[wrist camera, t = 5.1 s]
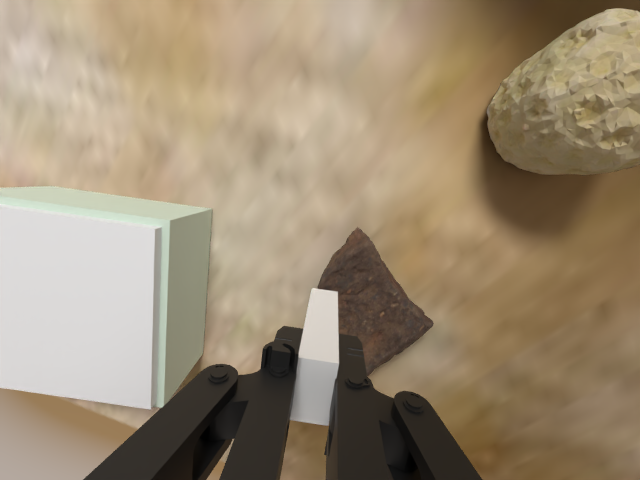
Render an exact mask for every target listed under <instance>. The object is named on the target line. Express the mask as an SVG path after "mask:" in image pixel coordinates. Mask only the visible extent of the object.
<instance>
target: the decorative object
mask: <svg viewBox="0 0 640 480" xmlns="http://www.w3.org/2000/svg"><path fill="white" fill-rule="evenodd" d="M487 115H488V117H489V119H488V123H487V124H488V130H489V133H490V138H491V139H492V141H493V143H494V144H495V148H496V149H497V151H496V152H497V153H499V154H500V155H501V157H502V158H503V159H504V160H505V161H506V162H509V163H512V164H513V165H514V166H516V167H518V168H520V169H523V170H527V171H530V172H534V173H539V174H546V175H562V174H579V175H591V174H602V173H609V172H613V171H618V170H621V169H625V168H631V167H634V166H637V165H640V12H639V11H634V10H629V9H622V8H615V9H608V10H605V11H604V12H602V13H599V14H596V15H594V16H592V17H590V18H588V19H586V20H584V21H582V22H580V23H578V24H577V25H576V26H575V27H573V28H570V29H568V30H567V31H565V32H564V33H563V34H562V35H560V36H559V37H558V38H557V39H555V40H554V41H552V42H551V43H550V44H548V45H547V46H546V47H545V48H544V49H542V50H540V51H538V52H537V53H536V54H534V55H533V56H532V57H531V58H529V59H526V60H524V61H523V62H522V63H521V64H520V65H519V66H518V67H516V68H515V69H514V71H513V72H512V73H511V74H510V75H509V76H508V77H507V78H506V79H504V80H503V81H502V83H501V85H500V87H499V89H498V91H497V93H496V94H495V96H494V97H493V99H492V102H491V103H490V104H489V106H488V108H487Z"/></svg>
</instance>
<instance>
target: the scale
mask: <svg viewBox="0 0 640 480" xmlns="http://www.w3.org/2000/svg"><path fill="white" fill-rule="evenodd" d="M211 222H212V209H210V208H203V207H196V206H189V205H182V204H175V203H168V202H161V201H154V200H147V199H140V198H133V197H126V196H119V195H112V194H105V193H98V192H90V191H83V190H76V189H69V188H62V187H55V186H40V187H11V188H0V388H6V389H13V390H20V391H27V392H34V393H41V394H47V395H54V396H61V397H68V398H75V399H82V400H88V401H95V402H102V403H109V404H116V405H123V406H130V407H136V408H143V409H150V410H151V409H152V407H159V408H162V407H163V406H164V405H165V404H166V403H168V401H169V400H170V399H171V397H172V396H173V395H174V393H175V392H176V390H177V389H178V388H179V386H180V385H181V383H182V382H183V381H184V379H185V378H186V376H187V375H188V374H189V372H190V371H191V370H192V368H193V367H194V365H195V364H196V363H197V361H198V360H199V358H200V357H201V356H202V354H203V348H204V333H205V317H206V301H207V285H208V269H209V254H210V238H211Z"/></svg>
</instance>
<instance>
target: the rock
mask: <svg viewBox="0 0 640 480" xmlns="http://www.w3.org/2000/svg"><path fill="white" fill-rule="evenodd" d="M318 289H322V290H329V291H336V292H338V333H339V334H345V335H352V336H357V337H358V338H359V340H360V341H361V342H362V346H363V353H364V359H365V366H366V372H367V376H368V375H369V374H371V373H372V371H373V370H374V369H375V368H377V367H378V366H380V365H381V364H383V363H385V362H387V361H389V360H390V359H391V358H392V357H393V356H394V355H396V354H399V353H400V352H402V351H403V350H404V349H405V348H407V347H409V346H410V345H411V344H413V343H414V342H415V341H416V340H418V339H419V338H420V337H421V336H422V335H423V334H425V333H426V332H427V331H428V330H429V329H430V328H431V327H432V326H433V321H432V320H431V319H430V318H428V317H427V316H425V315H424V312H423V310H422V309H421V308H419V307H418V306H416V305H415V304H414V303H413V302H412V301H411V300H409V298H408V297H407V295H406V293H405V292H404V290H403V289H402V287H401V286H400V284H399V283H398V282H396V280H395V279H394V277H393V276H392V274H391V272H390V271H389V270H388V268H387V267H386V265H385V263H384V262H383V261H382V260H381V258H380V255H379V253H378V251H377V250H376V248H375V246H374V244H373V242H372V241H371V240H370V239H369V237H368V236H367V235H366V234H365V233H363V232H362V230H361V229H359V228H356V230H355V231H353V232H352V233H351V235H350V236H349V237H348V239H347V241H346V244H345V245H344V246H342V248H341V249H339V250H338V251H337V252H336V253H335V254H334V255H333V256H332V258H331V260H330V262H329V264H328V266H327V268H326V269H325V270H324V272H323V274H322V277H321V279H320V282H319V285H318Z"/></svg>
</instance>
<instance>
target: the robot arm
mask: <svg viewBox="0 0 640 480" xmlns="http://www.w3.org/2000/svg"><path fill="white" fill-rule="evenodd" d="M290 420H294V421H300V422H306V423H313V424H319V425H326V426H328V424H329V430H328V436H327V442H326V448H325V453H324V455H327V458H326V480H482V479H481V477H480V476H479V474H478V473H477V471H476V470H475V468H474V467H473V466H472V464H471V463H470V461H469V460H468V458H467V457H466V455H465V454H464V452H463V451H462V450H461V448H460V447H459V445H458V444H457V442H456V441H455V439H454V438H453V436H452V435H451V434H450V432H449V431H448V429H447V428H446V426H445V425H444V423H443V422H442V421H441V419H440V418H439V416H438V415H437V413H436V412H435V410H434V409H433V407H432V406H431V405H430V403H429V402H428V401H427V400H426V399H425V398H423V397H422V396H420V395H418V394H416V393H413V392H408V391H402V392H398V393H397V394H396V395H395V397H394V398H391V397H389V396H386V395H384V394H382V393H380V392H378V391H377V390H375V389H374V388H373V384H372V382H371V380H370V379H369V378H368V377H367V372H366V366H365V359H364V353H363V346H362V342H361V341H360V340H359V338H358V337H357V336H352V335H345V334H339V333H338V292H336V291H329V290H322V289H316V288H312V289H311V294H310V299H309V304H308V309H307V314H306V319H305V324H304V329H300V328H294V327H287V326H283V327H282V328H281V329H279V330H278V331H277V334H276V337H275V340H274V342H270V343H269V344H267V345H265V347H264V348H263V352H262V362H261V369H260V370H259V371H258V372H255V373H252V374H247V375H238V372H237V370H236V369H235V368H234V367H232V366H230V365H226V364H215V365H212V366H209V367H207V368H206V369H204V370H203V371H201V372H200V373H199V374H198V375H197V376H196V377H195V378H194V379H193V380H192V381H190V382H189V383H188V384H187V385H186V386H185V387H184V388H183V389H182V390H181V391H180V392H178V393H177V394H176V395H175V396H174V397H173V398H172V399H171V400H170V401H169V402H168V403H166V404H165V405H164V406H163V407H162V408H161V409H160V410H159V411H158V412H157V413H156V414H154V415H153V416H152V417H151V418H150V419H149V420H148V421H147V422H146V423H145V424H144V425H142V426H141V427H140V428H139V429H138V430H137V431H136V432H135V433H134V434H133V435H132V436H130V437H129V438H128V439H127V440H126V441H125V442H124V443H123V444H122V445H121V446H120V447H119V448H117V450H115V451H114V452H113V453H112V454H111V455H110V456H109V457H108V458H106V459H105V460H104V461H103V462H102V463H101V464H100V465H99V466H98V467H97V468H95V469H94V470H93V471H92V472H91V473H90V474H89V475H88V476H87V477H86V478H85V479H84V480H206V479H207V478H208V476H209V475H210V473H211V472H212V470H213V468H214V467H215V466H216V464H217V463H218V461H219V460H220V458H221V457H222V456H223V454H224V453H225V451H226V450H227V448H228V447H229V445H230V444H231V441H232V439H234V438H235V439H234V442H233V444H232V447H231V450H230V452H229V455H228V458H227V461H226V463H225V466H224V469H223V471H222V474H221V477H220V479H219V480H280V475H281V469H282V463H283V458H284V452H285V447H286V441H287V435H288V429H289V422H290Z"/></svg>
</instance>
